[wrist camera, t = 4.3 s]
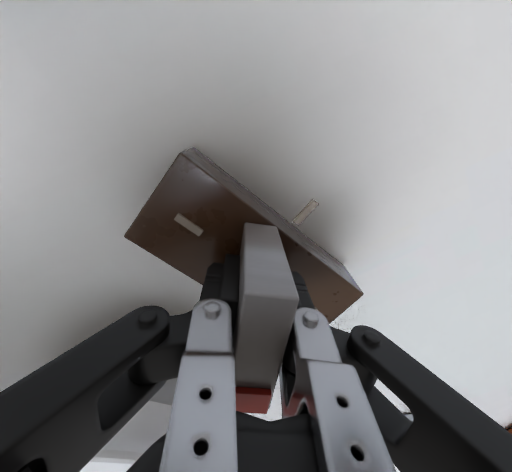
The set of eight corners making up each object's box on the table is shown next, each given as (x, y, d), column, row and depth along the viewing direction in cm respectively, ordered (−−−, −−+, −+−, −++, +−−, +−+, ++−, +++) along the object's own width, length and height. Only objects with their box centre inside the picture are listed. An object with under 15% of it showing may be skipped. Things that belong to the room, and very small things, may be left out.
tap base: (128, 241, 15) (101, 268, 12) (216, 112, 13) (208, 108, 10) (275, 331, 19) (280, 368, 16) (368, 244, 16) (396, 270, 13)
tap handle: (244, 221, 12) (243, 298, 7) (277, 226, 12) (302, 304, 7) (232, 305, 14) (224, 415, 9) (260, 308, 14) (269, 417, 9)
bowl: (18, 318, 17) (-171, 481, 9) (250, 295, 17) (256, 439, 9) (99, 449, 24) (27, 609, 16) (267, 432, 24) (278, 584, 16)
